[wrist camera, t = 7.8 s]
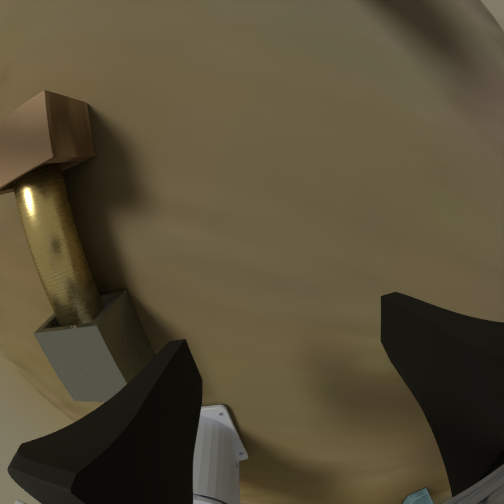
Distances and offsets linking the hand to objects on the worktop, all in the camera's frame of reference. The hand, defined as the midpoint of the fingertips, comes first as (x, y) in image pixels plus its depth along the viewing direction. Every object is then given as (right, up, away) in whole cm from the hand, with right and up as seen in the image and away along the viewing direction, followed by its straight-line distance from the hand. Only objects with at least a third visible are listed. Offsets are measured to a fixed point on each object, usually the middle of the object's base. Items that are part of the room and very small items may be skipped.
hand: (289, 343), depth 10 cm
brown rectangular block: (-15, +11, +6) cm, 20 cm away
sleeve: (-12, -3, +10) cm, 16 cm away
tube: (-14, +5, +8) cm, 17 cm away
